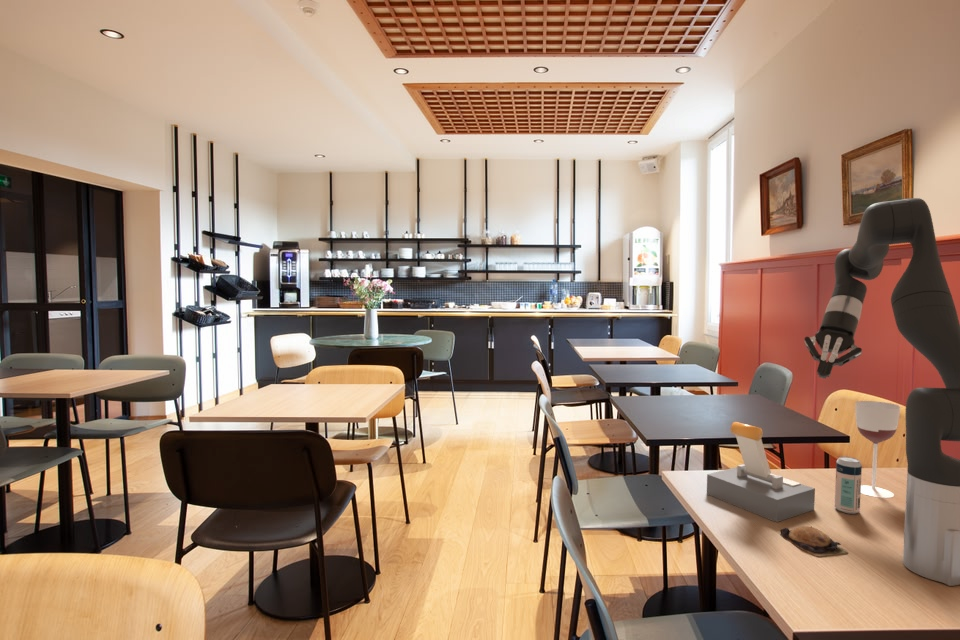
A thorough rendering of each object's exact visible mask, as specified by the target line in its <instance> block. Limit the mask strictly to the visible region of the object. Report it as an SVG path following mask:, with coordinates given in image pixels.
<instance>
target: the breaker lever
mask: <svg viewBox="0 0 960 640" xmlns="http://www.w3.org/2000/svg"><path fill="white" fill-rule="evenodd" d="M730 432H731V434H732V435H735V438H736V441H737V445H738V448H739V452H740V454H741V458H742V461H743V464H744V465H745V468H744V474H746V475H749V476H752V477H755V478H758V479H761V480H764V481H767V482H770V483H772V477H774V476H773V475H774V474H773V475H770V474H772V473H771V468H770V465H769V462H768V457H767V454H766V451H765V448H764V444H763V439H762V437H763V435H764V434H763V433H764V432H763V429H762V427H758V426H755V425H751V424H747V423H742V422H738V421H733V422H732V423H731V427H730Z"/></svg>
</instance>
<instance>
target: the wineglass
mask: <svg viewBox="0 0 960 640" xmlns="http://www.w3.org/2000/svg"><path fill="white" fill-rule="evenodd" d="M854 410H855V411H854V412H855V423H856V427H857V430H858V432H859V434H860V435H861V436H863V437H864V438H865V439H867V440H868V441H870V442H871V443H873V444H872V445H873V446H872V448H873V449H872V466H871V467H872V468H871V469H872V472H871V485H867V484H865V485H864V484H863V485H862V484H861V495H862V494H863V495H865V496H866V495H867V496H870V497H875V498H882V499H885V498H886V499H888V498H893V497H895V493H893V492H892V491H890V490H888V489H884V488H881V487H878V486H876V485H877V484H876V483H877V468H878V466H877V465H878V463H877V462H878V444H879V443H882V442H885V441H887V440H890V439H891V438H893V437H894V435H895V434H896V432H897V429H898V426H899V421H900V415H901V406H899V404H898V405H897V404H894V403H890V402H884V401H874V400H871V401H870V400H860V401H855V405H854Z"/></svg>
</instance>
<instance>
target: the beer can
mask: <svg viewBox="0 0 960 640" xmlns="http://www.w3.org/2000/svg"><path fill="white" fill-rule="evenodd" d="M862 466H863V465H862V463H861V462H860V460H859V459H858V458H855V457H852V456H851V457H850V456H839V457H838V458H837V460H836V465H835V482H834V483H835V484H834V485H835V486H834V487H835V489H834V508H835V509H836V510H837V511H839V512H841V513H843V514H849V515H855V514H858V513H860V510H861V495H862V493H861V485H862V469H863V467H862Z"/></svg>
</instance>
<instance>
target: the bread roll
mask: <svg viewBox="0 0 960 640" xmlns="http://www.w3.org/2000/svg"><path fill="white" fill-rule="evenodd" d="M779 531H780V534H779V536H781V538H783V539H785V540H786V541H788V542H789V543H791V544H793V545H794V546H796V547H797V548H798V549H800V550H802V551H805V552H806V553H808V554H809V555H810V554H811V556H814V557H816V558H825V557H834V556H843V555H848V554H849V552H848V551H847V550H845V549H844V548H842V547H840V546H841V545H842V544H841V543H840V542H838V541H834V540H833V539H832V538H830V536H829V535H828V534H827V533H825V532H824V531H821V530H820V529H818V528H815V527H813V526H809V525H806V526H805V525H804V526H798V527H795V528H792V529H791V530H789V528H788V527H783V528H782V529H780V530H779Z"/></svg>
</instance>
